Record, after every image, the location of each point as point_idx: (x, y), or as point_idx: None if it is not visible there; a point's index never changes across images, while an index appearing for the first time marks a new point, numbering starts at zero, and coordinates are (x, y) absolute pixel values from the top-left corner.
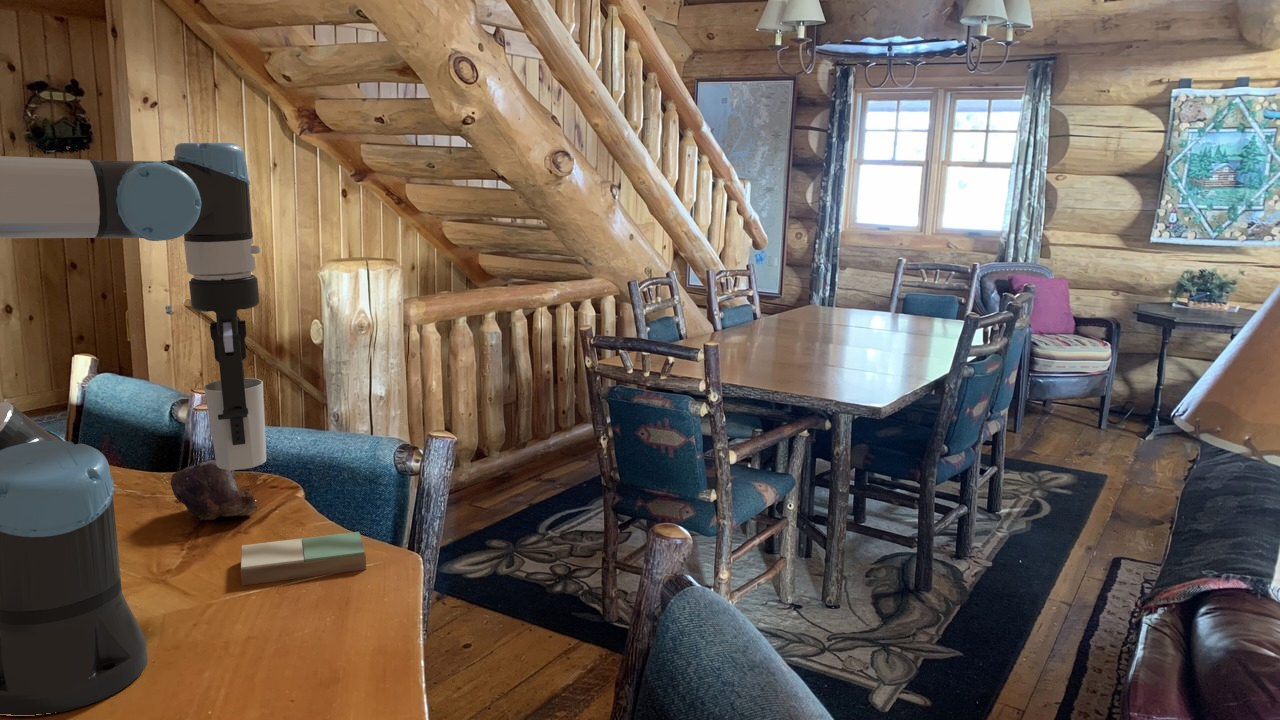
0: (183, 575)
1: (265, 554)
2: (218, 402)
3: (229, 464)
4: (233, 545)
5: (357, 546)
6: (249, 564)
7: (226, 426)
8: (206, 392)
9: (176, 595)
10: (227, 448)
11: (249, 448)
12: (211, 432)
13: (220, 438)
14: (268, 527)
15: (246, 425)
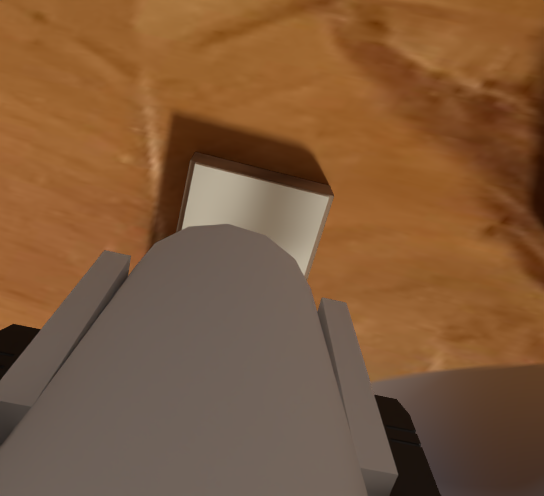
0: (327, 51)
1: (242, 227)
2: None
3: (97, 262)
4: (434, 190)
5: None
6: (202, 183)
7: (16, 370)
8: (98, 484)
9: (218, 12)
10: (68, 295)
11: None
12: (207, 284)
13: (116, 300)
14: (487, 277)
15: None
